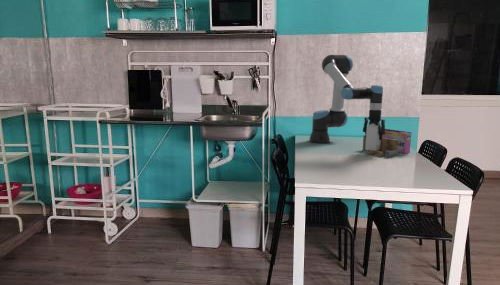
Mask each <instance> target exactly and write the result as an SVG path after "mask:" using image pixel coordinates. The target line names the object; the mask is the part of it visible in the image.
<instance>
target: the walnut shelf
mask: <svg viewBox="0 0 500 285" xmlns="http://www.w3.org/2000/svg"><path fill="white" fill-rule="evenodd" d="M362 140H363V142H362V150H363V151H367V155H369V156H374V157H380V158H383V156H384V154H385V151H387V150H391V149H397V150H398V140H395V139H388V138H382V140H381V141H380V150H378V151H373V150H365V146H366V138H365V134H363V139H362ZM397 150H396V156H398V152H397Z"/></svg>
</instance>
